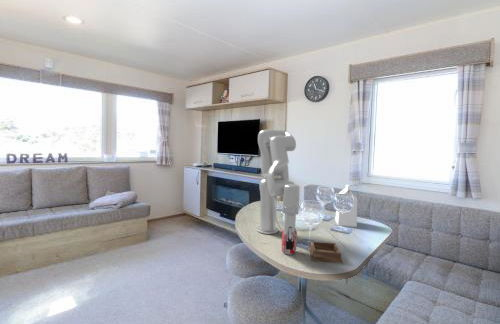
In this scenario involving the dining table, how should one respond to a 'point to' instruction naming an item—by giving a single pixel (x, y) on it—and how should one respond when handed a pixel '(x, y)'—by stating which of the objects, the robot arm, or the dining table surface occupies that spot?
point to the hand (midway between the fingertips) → (289, 245)
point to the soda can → (284, 238)
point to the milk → (348, 217)
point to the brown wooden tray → (325, 252)
